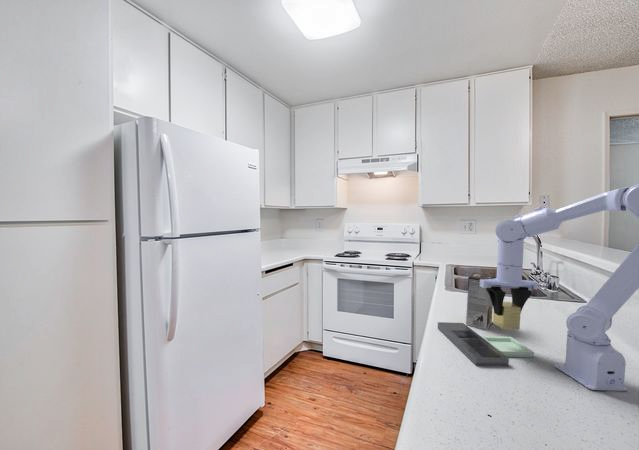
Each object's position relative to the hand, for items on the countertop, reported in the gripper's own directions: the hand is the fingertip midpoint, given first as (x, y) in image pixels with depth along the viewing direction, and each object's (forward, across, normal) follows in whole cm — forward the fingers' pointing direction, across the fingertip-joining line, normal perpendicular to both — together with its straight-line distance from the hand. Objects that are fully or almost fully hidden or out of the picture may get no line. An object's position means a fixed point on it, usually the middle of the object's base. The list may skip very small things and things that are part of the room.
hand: (506, 314), depth 79 cm
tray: (+9, 0, 0) cm, 9 cm away
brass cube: (+3, 0, 0) cm, 3 cm away
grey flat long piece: (+9, +9, -2) cm, 13 cm away
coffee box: (+10, -3, -18) cm, 21 cm away
